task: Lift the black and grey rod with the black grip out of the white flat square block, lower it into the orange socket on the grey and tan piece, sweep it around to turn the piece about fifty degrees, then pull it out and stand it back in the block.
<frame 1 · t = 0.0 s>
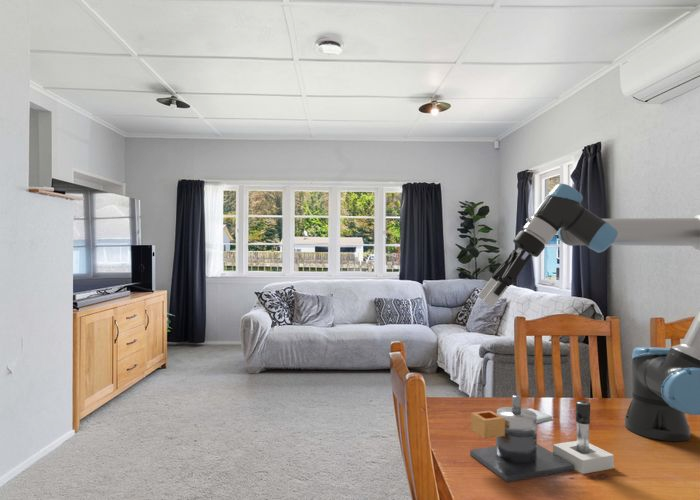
hand: (484, 301, 124), 36 cm above the table, tool tilted 35°, fingers open, 13 cm apart
dark square base plate: (516, 459, 110), on the table
black and grey rod: (582, 432, 109), in the white flat square block
grey and tan piece: (505, 413, 109), point 11 cm above the table, hinge at 0.0°
white flat square block: (582, 462, 109), on the table
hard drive: (526, 420, 138), on the table
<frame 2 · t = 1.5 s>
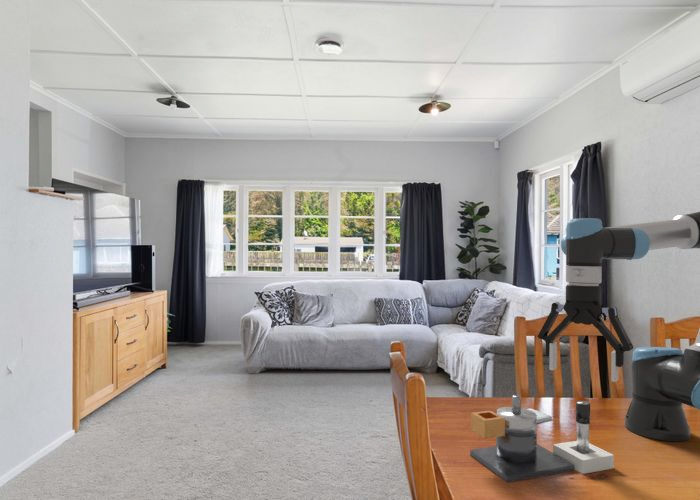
hand: (582, 374, 109), 21 cm above the table, tool pointing down, fingers open, 13 cm apart
nothing on the table moved.
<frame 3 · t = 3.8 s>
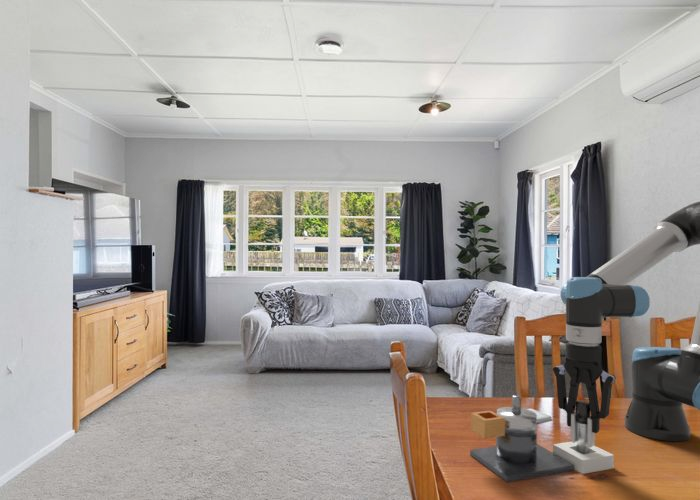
hand: (582, 442, 109), 5 cm above the table, tool pointing down, fingers closed on black and grey rod, 3 cm apart
black and grey rod: (582, 432, 109), in the white flat square block, touching gripper
everything else where it was.
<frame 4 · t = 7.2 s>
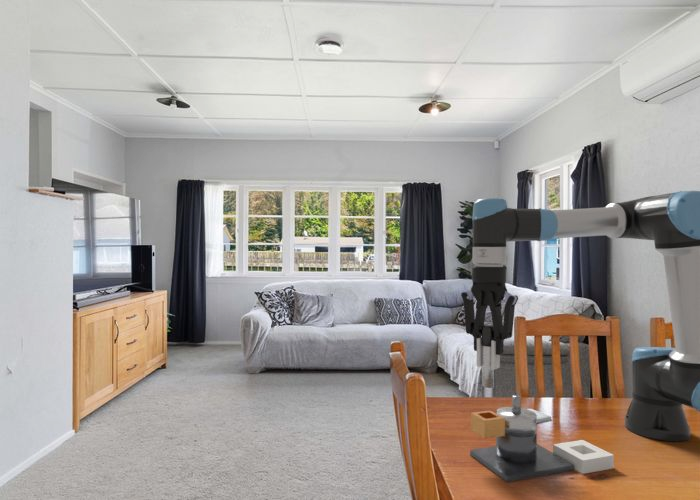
hand: (488, 366, 108), 23 cm above the table, tool pointing down, fingers closed on black and grey rod, 3 cm apart
black and grey rod: (488, 356, 108), point 25 cm above the table, touching gripper
everything else where it was.
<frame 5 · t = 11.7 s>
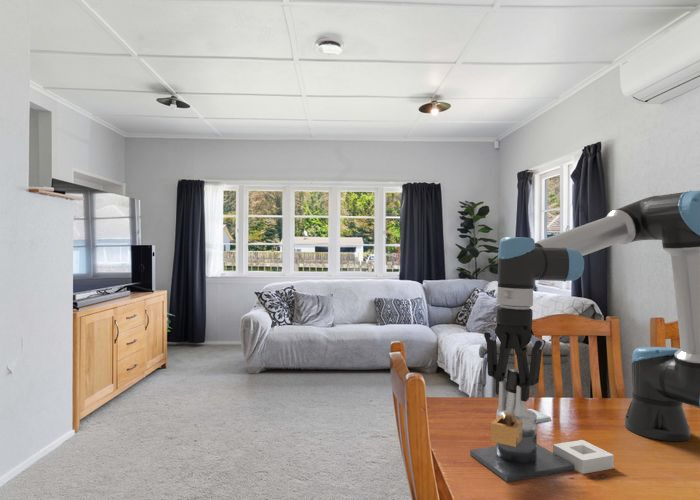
hand: (511, 412, 103), 14 cm above the table, tool pointing down, fingers closed on black and grey rod, 3 cm apart
black and grey rod: (511, 401, 103), point 16 cm above the table, tilted 6°, touching grey and tan piece, gripper
grey and tan piece: (512, 416, 107), point 11 cm above the table, hinge at 37.2°, touching black and grey rod
everything else where it was.
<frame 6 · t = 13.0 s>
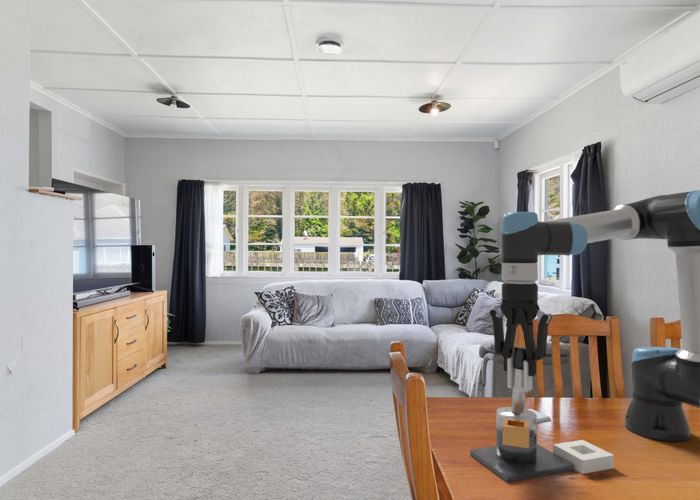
hand: (519, 388, 102), 19 cm above the table, tool pointing down, fingers closed on black and grey rod, 3 cm apart
black and grey rod: (519, 379, 103), point 21 cm above the table, touching gripper
grey and tan piece: (516, 416, 107), point 11 cm above the table, hinge at 51.0°
everything else where it was.
when the fingers open (6 cm above the table, at t = 19.1 s): black and grey rod moves 1 cm, resting in white flat square block.
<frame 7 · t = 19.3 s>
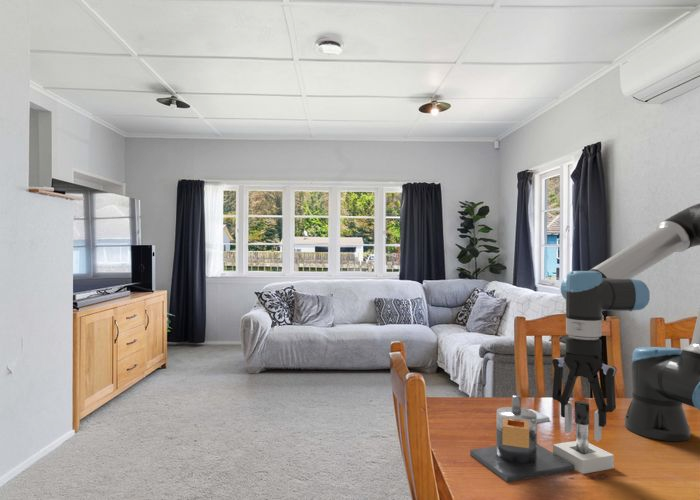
hand: (582, 435, 109), 6 cm above the table, tool pointing down, fingers open, 6 cm apart
black and grey rod: (582, 432, 108), in the white flat square block
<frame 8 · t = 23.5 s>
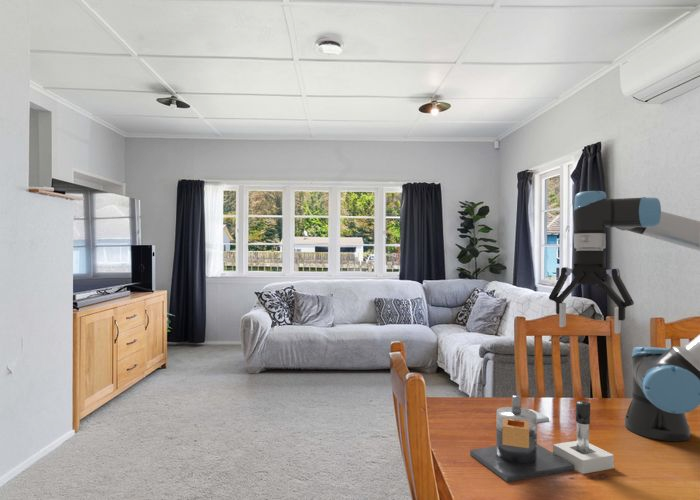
hand: (589, 329, 123), 29 cm above the table, tool pointing down, fingers open, 13 cm apart
at the end: grey and tan piece at +51° (first picture: +0°); black and grey rod 0.1 cm off-centre on the white flat square block, point 7.0 cm above the white flat square block's base; the gripper is holding nothing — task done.
